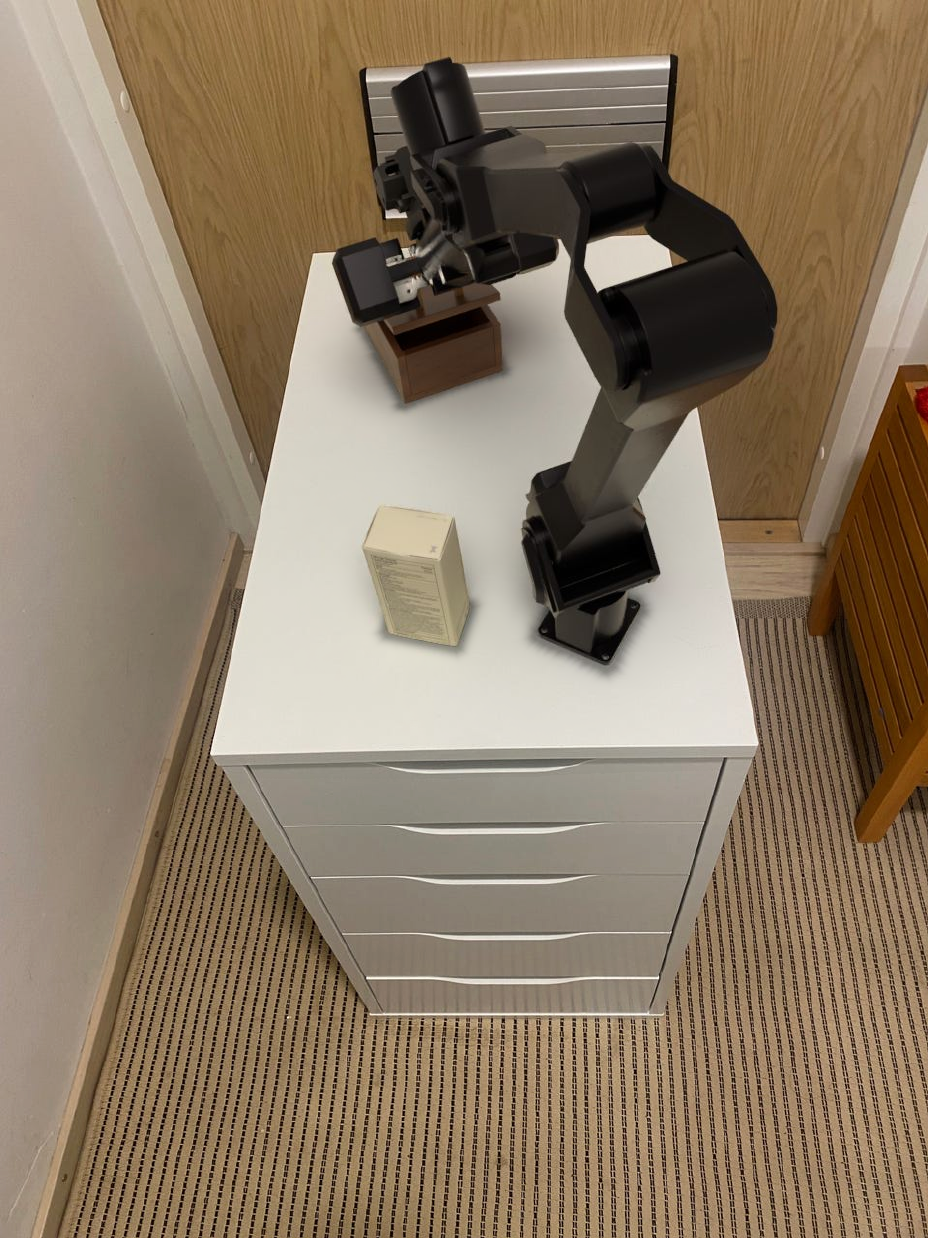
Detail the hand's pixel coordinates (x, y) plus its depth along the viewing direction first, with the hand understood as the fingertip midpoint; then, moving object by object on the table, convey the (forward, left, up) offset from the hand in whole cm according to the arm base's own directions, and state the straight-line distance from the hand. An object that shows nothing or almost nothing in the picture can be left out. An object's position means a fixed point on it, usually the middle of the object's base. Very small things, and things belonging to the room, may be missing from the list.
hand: (431, 280), depth 88 cm
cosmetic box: (-27, -15, -10) cm, 33 cm away
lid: (+1, +2, -3) cm, 4 cm away
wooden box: (+2, +2, -10) cm, 10 cm away
